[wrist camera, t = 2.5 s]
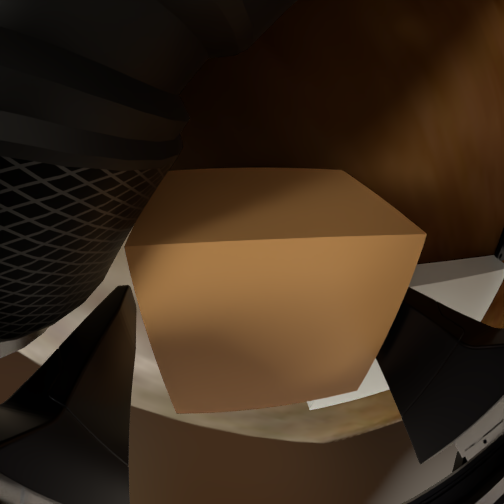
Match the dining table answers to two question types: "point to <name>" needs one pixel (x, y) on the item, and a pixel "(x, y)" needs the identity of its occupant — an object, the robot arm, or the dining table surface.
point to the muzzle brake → (93, 134)
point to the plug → (267, 283)
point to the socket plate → (446, 292)
